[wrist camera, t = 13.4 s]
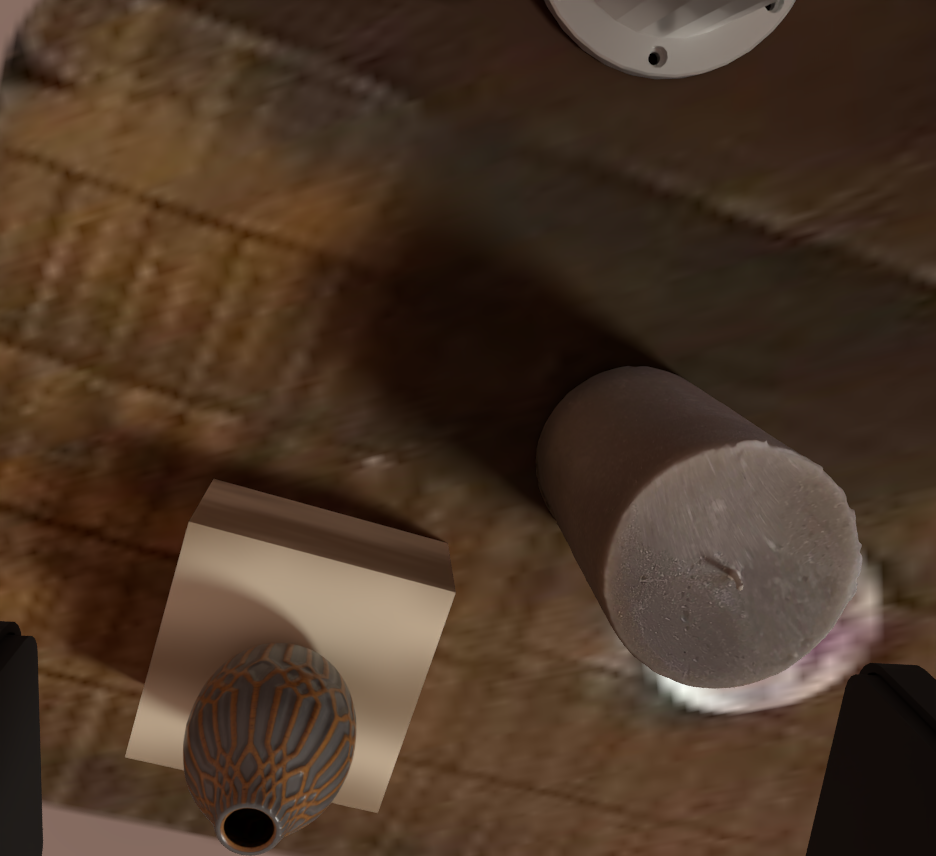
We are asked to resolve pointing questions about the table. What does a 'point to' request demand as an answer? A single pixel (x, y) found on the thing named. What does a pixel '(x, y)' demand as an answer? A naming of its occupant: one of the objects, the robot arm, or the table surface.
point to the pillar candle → (696, 528)
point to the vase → (268, 744)
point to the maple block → (299, 619)
